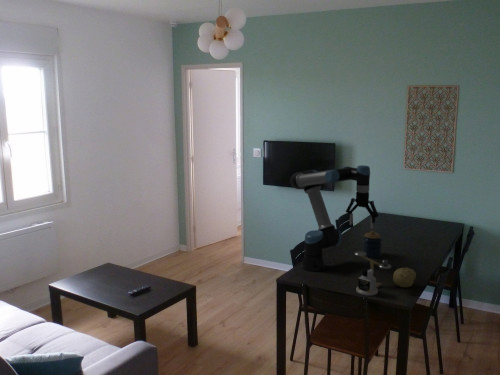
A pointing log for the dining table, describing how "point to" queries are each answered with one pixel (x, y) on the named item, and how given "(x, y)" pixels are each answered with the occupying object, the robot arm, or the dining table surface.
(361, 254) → the balance
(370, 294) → the dish
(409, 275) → the olive brown dome
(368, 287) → the grey piece
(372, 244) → the canister
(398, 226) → the dining table surface
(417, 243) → the dining table surface
